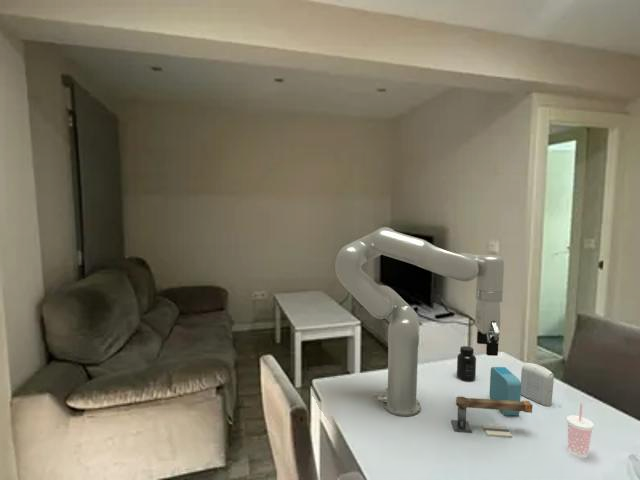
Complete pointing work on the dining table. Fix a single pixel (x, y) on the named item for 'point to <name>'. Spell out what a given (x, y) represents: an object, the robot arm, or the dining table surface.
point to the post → (461, 422)
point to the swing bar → (494, 404)
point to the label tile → (496, 431)
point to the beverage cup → (579, 434)
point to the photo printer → (537, 383)
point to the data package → (504, 387)
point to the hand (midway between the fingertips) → (486, 349)
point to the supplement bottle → (466, 364)
